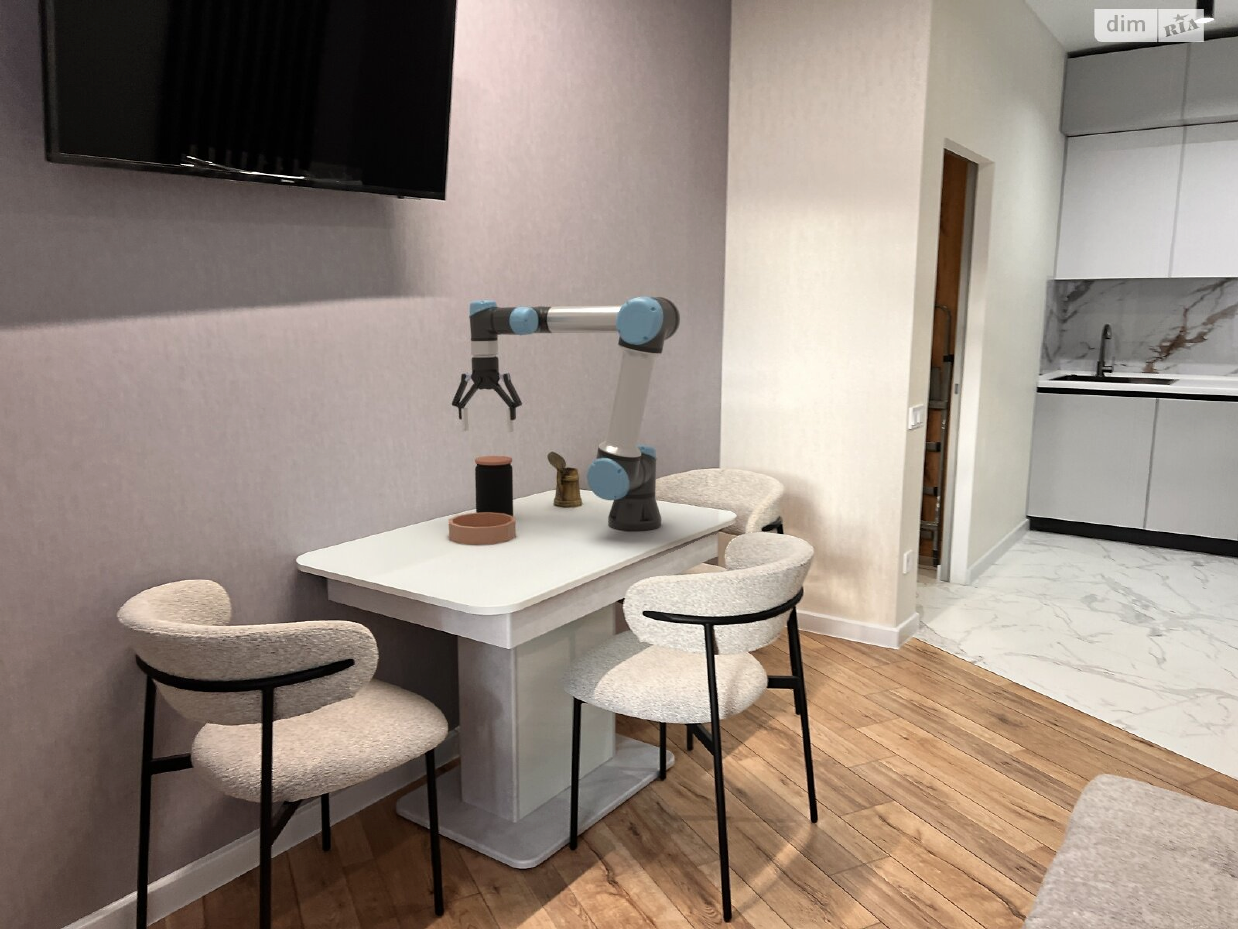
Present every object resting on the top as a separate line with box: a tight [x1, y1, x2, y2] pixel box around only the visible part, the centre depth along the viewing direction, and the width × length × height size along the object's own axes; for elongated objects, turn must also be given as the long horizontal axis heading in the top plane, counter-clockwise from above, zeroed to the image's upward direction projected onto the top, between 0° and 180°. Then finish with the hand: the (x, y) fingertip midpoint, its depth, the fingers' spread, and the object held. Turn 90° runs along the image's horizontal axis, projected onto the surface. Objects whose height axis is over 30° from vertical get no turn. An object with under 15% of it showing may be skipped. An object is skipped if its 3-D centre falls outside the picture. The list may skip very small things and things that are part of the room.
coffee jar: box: [474, 455, 514, 516], centre depth 269 cm, size 11×11×18 cm
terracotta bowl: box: [448, 512, 517, 546], centre depth 252 cm, size 18×18×4 cm
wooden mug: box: [546, 451, 583, 508], centre depth 288 cm, size 9×14×18 cm, turn 151°
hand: (487, 431), depth 266 cm, fingers open, 13 cm apart
